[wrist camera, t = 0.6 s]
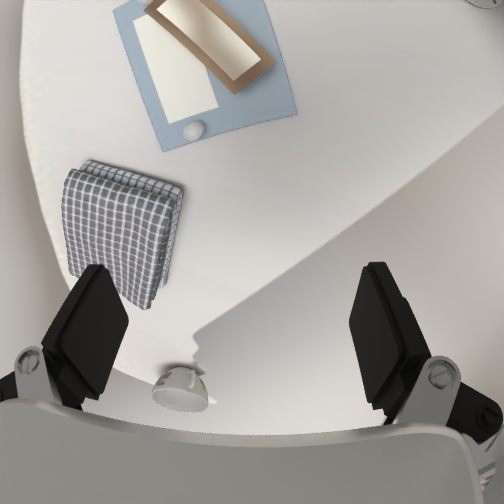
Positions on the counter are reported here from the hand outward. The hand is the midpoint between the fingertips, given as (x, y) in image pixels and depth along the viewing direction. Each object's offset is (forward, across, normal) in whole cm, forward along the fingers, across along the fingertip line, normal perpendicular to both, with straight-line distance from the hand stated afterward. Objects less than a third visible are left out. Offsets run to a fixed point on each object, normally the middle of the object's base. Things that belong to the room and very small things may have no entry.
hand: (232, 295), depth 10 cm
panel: (+26, +5, -10) cm, 28 cm away
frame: (+25, +3, -12) cm, 28 cm away
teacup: (+26, +16, +49) cm, 58 cm away
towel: (+26, +18, +12) cm, 34 cm away
